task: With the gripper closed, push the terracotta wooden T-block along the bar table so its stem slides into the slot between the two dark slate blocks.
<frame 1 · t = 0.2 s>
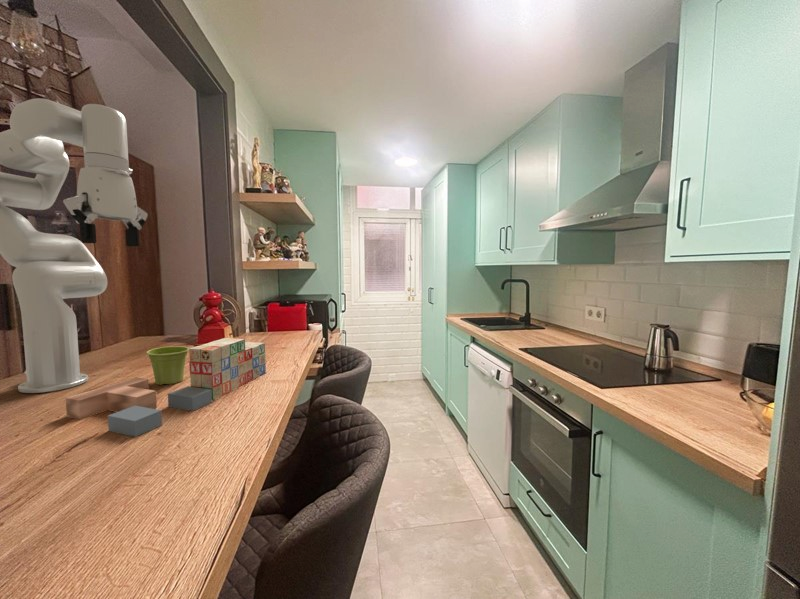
hand: (112, 244, 77), 36 cm above the table, tool pointing down, fingers open, 9 cm apart
plant pot: (169, 382, 92), on the table
t block: (125, 407, 75), on the table
stack of blocks: (232, 385, 91), on the table
t dock: (152, 412, 72), on the table
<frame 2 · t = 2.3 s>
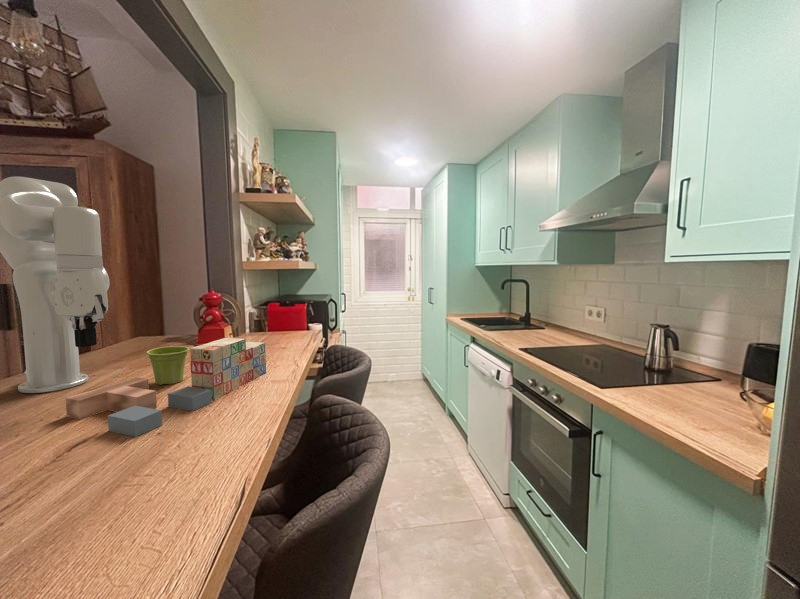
hand: (86, 345, 77), 13 cm above the table, tool pointing down, fingers closed
nothing on the table moved.
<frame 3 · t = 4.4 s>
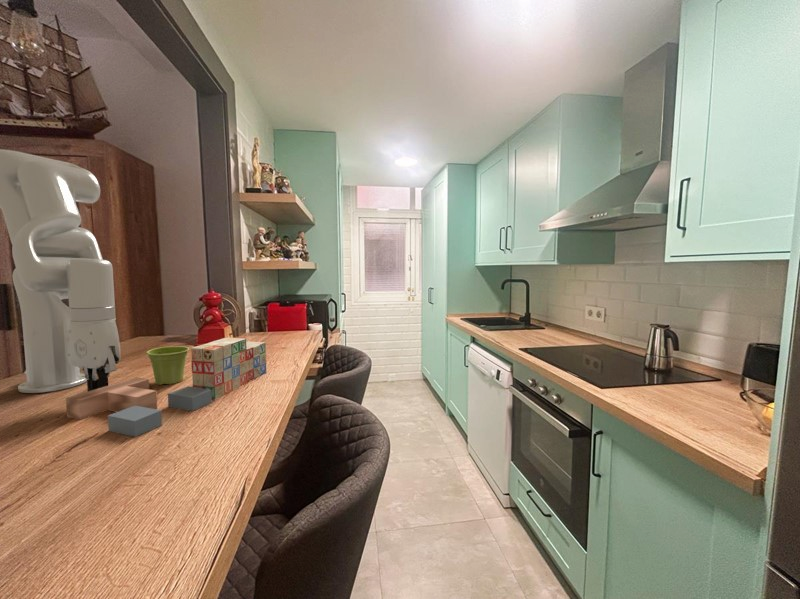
hand: (98, 395, 77), 2 cm above the table, tool pointing down, fingers closed
t block: (126, 407, 75), on the table, touching gripper
everything else where it was.
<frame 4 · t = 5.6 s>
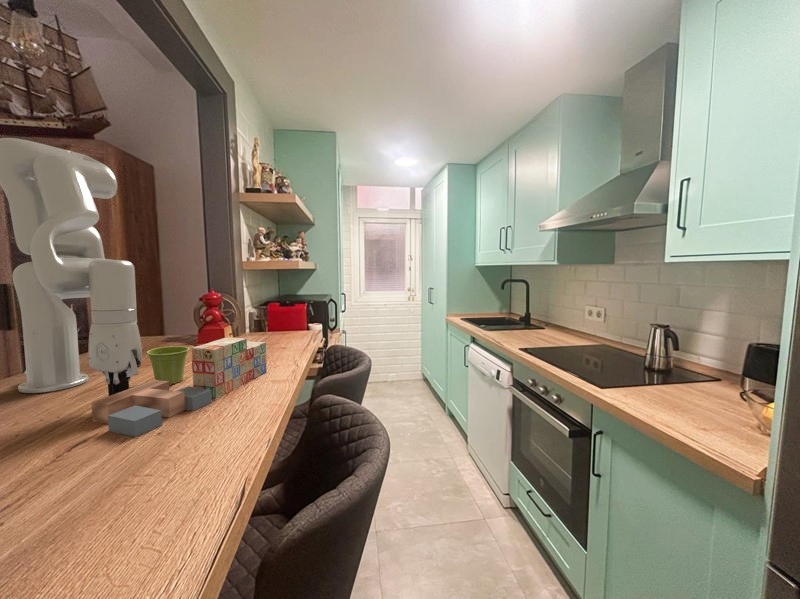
hand: (119, 399, 75), 2 cm above the table, tool pointing down, fingers closed
t block: (151, 410, 73), on the table, touching gripper
everything else where it was.
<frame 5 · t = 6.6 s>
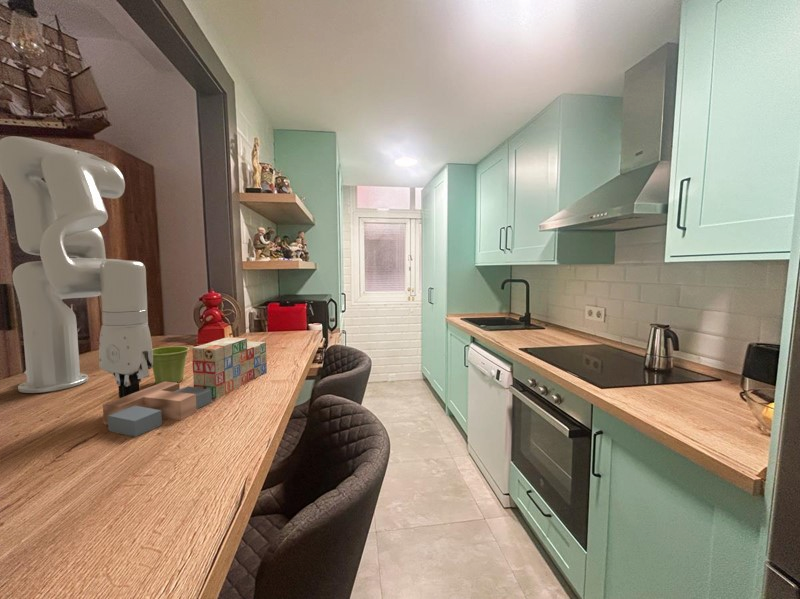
hand: (129, 401, 74), 2 cm above the table, tool pointing down, fingers closed
t block: (162, 412, 73), on the table, touching gripper, t dock
everything else where it was.
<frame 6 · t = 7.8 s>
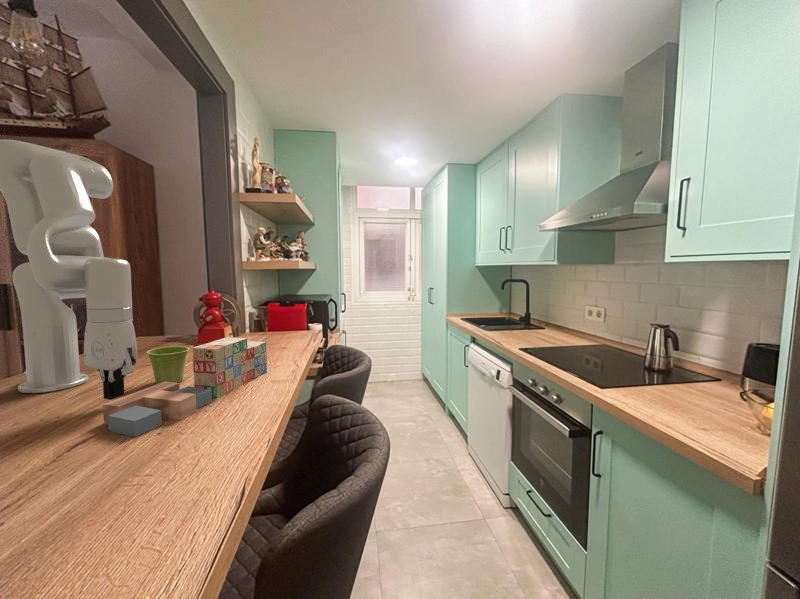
hand: (114, 396, 75), 2 cm above the table, tool pointing down, fingers closed
t block: (162, 412, 73), on the table
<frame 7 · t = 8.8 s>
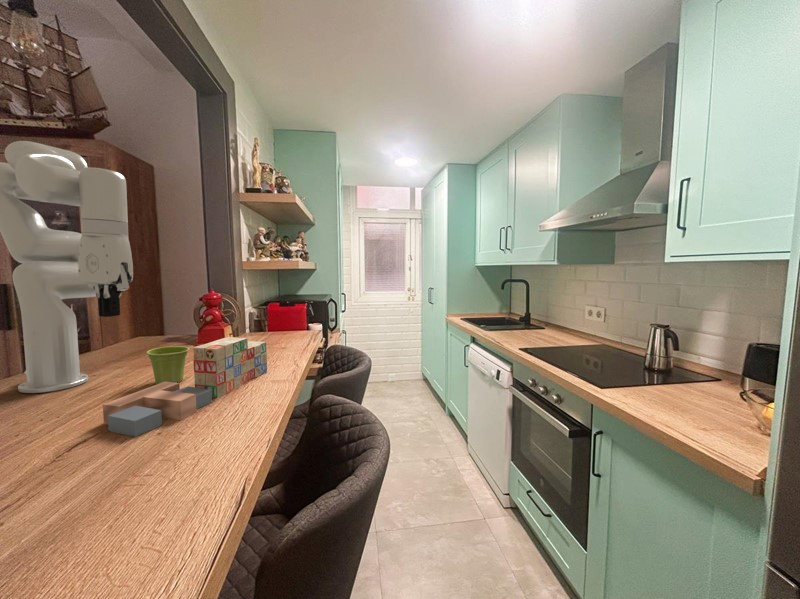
hand: (109, 315, 74), 20 cm above the table, tool pointing down, fingers closed
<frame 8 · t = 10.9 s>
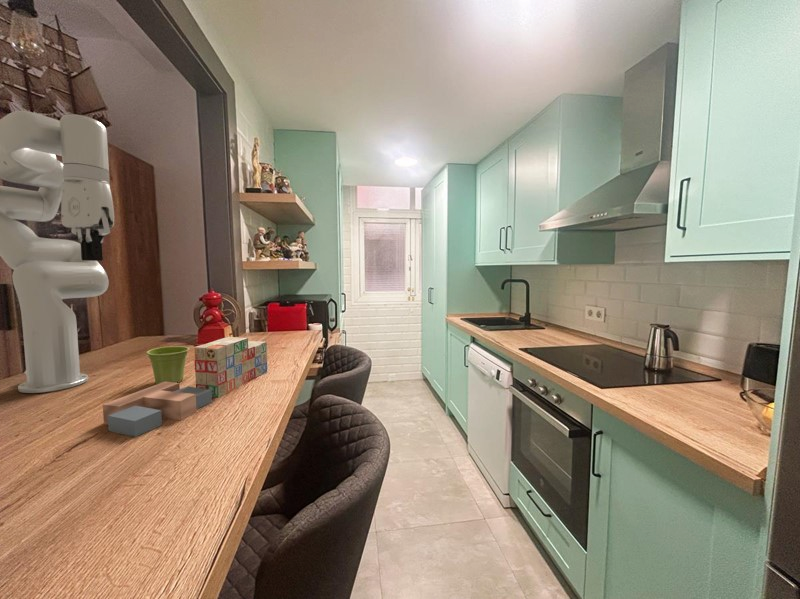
hand: (92, 260, 77), 32 cm above the table, tool pointing down, fingers closed
at the end: t block 0.8 cm from the target spot on the t dock, point 0.0 cm above the t dock's base; t block tilted 0° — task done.
